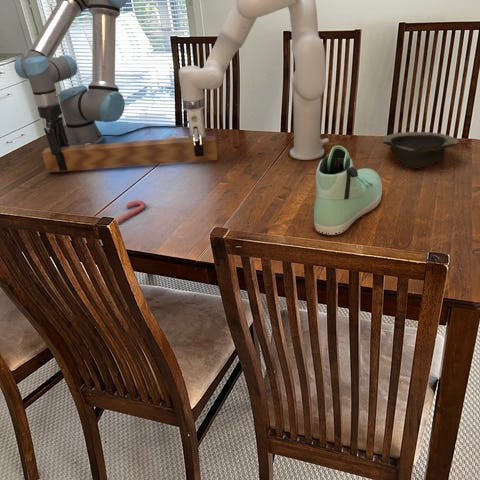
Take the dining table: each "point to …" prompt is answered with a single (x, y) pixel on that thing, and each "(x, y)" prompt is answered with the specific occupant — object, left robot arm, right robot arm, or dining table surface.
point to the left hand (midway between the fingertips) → (65, 167)
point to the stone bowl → (419, 147)
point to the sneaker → (343, 192)
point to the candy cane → (132, 210)
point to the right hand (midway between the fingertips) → (199, 152)
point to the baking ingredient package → (175, 137)
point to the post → (131, 154)
